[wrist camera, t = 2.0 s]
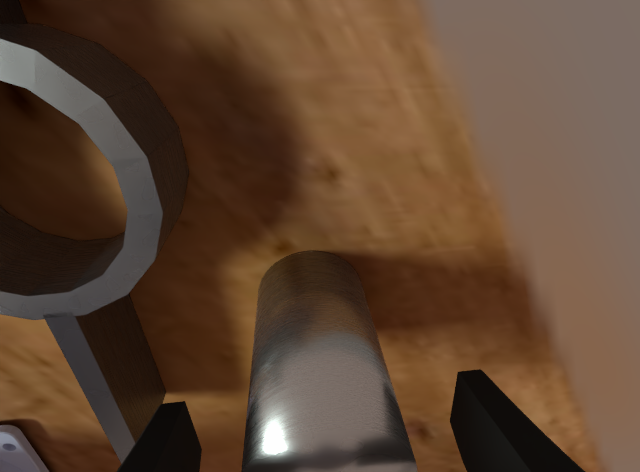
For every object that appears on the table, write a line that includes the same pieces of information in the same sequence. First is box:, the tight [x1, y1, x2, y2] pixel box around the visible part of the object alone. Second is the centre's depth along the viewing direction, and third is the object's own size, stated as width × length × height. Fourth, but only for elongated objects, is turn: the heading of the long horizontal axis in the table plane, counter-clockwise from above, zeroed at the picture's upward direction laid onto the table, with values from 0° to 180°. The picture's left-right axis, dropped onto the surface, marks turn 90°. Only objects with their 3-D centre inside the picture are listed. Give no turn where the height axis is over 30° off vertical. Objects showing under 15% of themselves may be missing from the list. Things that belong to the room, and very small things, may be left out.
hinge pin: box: [242, 251, 417, 472], centre depth 12 cm, size 4×4×7 cm
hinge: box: [0, 0, 189, 464], centre depth 10 cm, size 21×7×3 cm, turn 3°
